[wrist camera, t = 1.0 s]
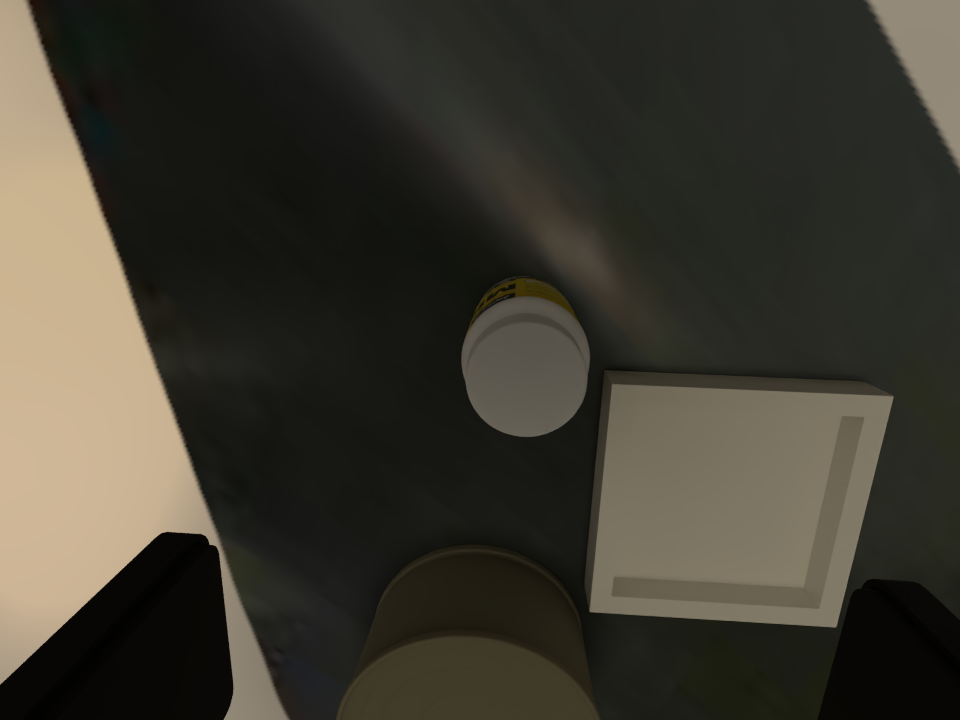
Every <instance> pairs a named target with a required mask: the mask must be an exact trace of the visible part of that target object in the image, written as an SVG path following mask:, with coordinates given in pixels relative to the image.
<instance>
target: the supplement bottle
mask: <svg viewBox="0 0 960 720" xmlns="http://www.w3.org/2000/svg"><path fill="white" fill-rule="evenodd" d="M461 363H462V371H463V375H464V379H465V382H466V388H467V393H468V396H469V399H470V401H471V404H472V406H473V407H474V409H475V411H476V412H477V413H478V414H479V416H480V417H481V418H482V419H483V420H484V421H485V422H486V423H488V424H489V425H490V426H492V427H493V428H495V429H497V430H499V431H501V432H504V433H506V434H510V435H514V436H520V437H533V436H539V435H543V434H546V433H549V432H552V431H554V430H556V429H558V428H559V427H561V426H562V425H564V424H565V423H566V422H567V421H569V420H570V419H571V418H572V417H573V416H574V414H575V413H576V412H577V410H578V409H579V407H580V405H581V404H582V402H583V399H584V396H585V393H586V388H587V374H588V371H589V364H590V350H589V346H588V341H587V338H586V335H585V333H584V331H583V328H582V327H581V325H580V323H579V321H578V319H577V317H576V315H575V313H574V311H573V310H572V308H571V306H570V304H569V302H568V300H567V299H566V298H565V296H564V295H563V294H562V293H561V292H560V291H559V290H558V289H557V288H556V287H555V286H553V285H552V284H550V283H549V282H547V281H544V280H542V279H539V278H535V277H530V276H519V277H512V278H509V279H506V280H503V281H501V282H499V283H497V284H496V285H494V286H493V287H491V288H490V289H489V290H488V291H487V292H486V293H485V294H484V296H483V297H482V298H481V300H480V301H479V303H478V305H477V307H476V310H475V312H474V315H473V318H472V320H471V323H470V326H469V329H468V332H467V334H466V337H465V340H464V344H463V348H462V357H461Z"/></svg>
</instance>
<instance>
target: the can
mask: <svg viewBox="0 0 960 720" xmlns="http://www.w3.org/2000/svg"><path fill="white" fill-rule="evenodd" d="M336 720H601V717H600V714H599V711H598V709H597V706H596V704H595V701H594V696H593V690H592V685H591V679H590V674H589V668H588V662H587V657H586V651H585V646H584V641H583V635H582V626H581V621H580V617H579V613H578V610H577V607H576V605H575V603H574V601H573V599H572V597H571V595H570V594H569V592H568V590H567V589H566V588H565V586H564V585H563V584H562V583H561V581H560V580H559V579H558V578H557V577H556V576H555V575H554V574H553V573H551V572H550V571H549V570H548V569H547V568H545V567H544V566H542V565H541V564H540V563H538V562H536V561H535V560H533V559H531V558H529V557H527V556H525V555H523V554H521V553H518V552H515V551H512V550H509V549H506V548H502V547H497V546H491V545H481V544H465V545H456V546H450V547H445V548H442V549H438V550H435V551H432V552H430V553H427V554H425V555H423V556H421V557H419V558H417V559H416V560H414V561H412V562H411V563H409V564H408V565H407V566H405V567H404V568H403V569H402V570H401V571H400V572H399V573H398V574H397V575H396V576H395V577H394V578H393V579H392V580H391V582H390V583H389V584H388V586H387V587H386V589H385V591H384V593H383V595H382V597H381V599H380V602H379V604H378V607H377V610H376V614H375V618H374V621H373V623H372V626H371V629H370V631H369V634H368V637H367V640H366V643H365V646H364V649H363V652H362V655H361V658H360V660H359V663H358V666H357V669H356V672H355V675H354V677H353V679H352V681H351V682H350V684H349V685H348V687H347V689H346V691H345V693H344V696H343V698H342V701H341V704H340V706H339V710H338V714H337V718H336Z"/></svg>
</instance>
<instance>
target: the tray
mask: <svg viewBox="0 0 960 720" xmlns="http://www.w3.org/2000/svg"><path fill="white" fill-rule="evenodd" d="M893 397H894V396H892V395H890V394H888V393H886V392H884V391H882V390H880V389H878V388H876V387H874V386H872V385H870V384H868V383H866V382H864V381H846V380H823V379H799V378H775V377H752V376H728V375H705V374H681V373H657V372H634V371H610V370H604V379H603V390H602V400H601V411H600V422H599V432H598V443H597V453H596V464H595V475H594V485H593V496H592V506H591V517H590V528H589V538H588V549H587V559H586V570H585V581H584V586H585V591H586V596H587V601H588V607H589V612H597V613H613V614H630V615H646V616H662V617H678V618H694V619H710V620H726V621H742V622H759V623H775V624H791V625H807V626H823V627H836V626H837V622H838V618H839V614H840V610H841V606H842V602H843V598H844V594H845V590H846V586H847V582H848V578H849V574H850V570H851V566H852V562H853V558H854V554H855V550H856V546H857V542H858V538H859V533H860V529H861V525H862V521H863V517H864V513H865V509H866V505H867V501H868V497H869V493H870V489H871V485H872V481H873V477H874V473H875V469H876V465H877V461H878V457H879V453H880V449H881V445H882V441H883V437H884V433H885V429H886V425H887V421H888V417H889V413H890V409H891V405H892V401H893Z"/></svg>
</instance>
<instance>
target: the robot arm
mask: <svg viewBox="0 0 960 720" xmlns="http://www.w3.org/2000/svg"><path fill="white" fill-rule="evenodd" d="M232 696H233V677H232V668H231V660H230V650H229V641H228V631H227V622H226V614H225V605H224V595H223V586H222V577H221V568H220V558H219V552H218V549H217V547H216V546H213V545H209V541H208V539H207V538H206V536H204V535H202V534H190V533H175V532H165V533H161V534H160V535H159V536H157V537H156V538H155V539H154V540H153V541H152V542H151V543H150V544H149V545H147V546H146V547H145V548H144V549H143V550H142V551H141V552H140V553H139V554H138V555H137V556H136V557H135V558H134V559H133V560H132V561H131V562H129V563H128V564H127V566H125V567H124V568H123V569H122V570H121V571H120V572H119V573H118V574H117V575H116V576H115V577H114V578H113V579H112V580H110V582H108V583H107V584H106V585H105V586H104V587H103V588H102V589H101V590H100V591H99V592H98V593H97V594H96V595H95V596H94V597H93V598H91V599H90V601H88V603H86V604H85V605H84V606H83V607H82V608H81V609H80V610H79V611H78V612H77V613H76V614H75V615H74V616H72V618H70V619H69V620H68V621H67V622H66V623H65V624H64V625H63V626H62V627H61V628H60V629H59V630H58V631H57V632H56V633H55V634H53V635H52V636H51V637H50V638H49V639H48V640H47V641H46V642H45V643H44V644H43V645H42V646H41V647H40V648H39V649H38V650H37V651H36V652H35V653H33V654H32V656H30V657H29V658H28V659H27V660H26V661H25V662H24V663H23V664H22V665H21V666H20V667H19V668H18V669H17V670H15V672H13V673H12V674H11V675H10V676H9V677H8V678H7V679H6V680H5V681H4V682H3V683H2V684H1V685H0V720H224V718H225V716H226V714H227V712H228V709H229V707H230V704H231V700H232ZM818 720H960V620H959V619H958V618H957V617H956V616H955V615H954V614H953V613H951V612H950V611H949V610H948V609H947V608H946V607H945V606H944V605H943V604H942V603H941V602H940V601H939V600H938V599H936V598H935V597H934V596H933V595H932V594H931V593H930V592H929V591H928V590H927V589H926V588H924V587H923V586H921V585H920V584H919V583H915V582H912V581H897V580H882V579H871V580H867V581H866V582H865V583H864V584H863V586H862V588H861V589H856V590H855V591H854V592H853V593H852V596H851V598H850V602H849V606H848V609H847V613H846V617H845V620H844V624H843V628H842V631H841V635H840V639H839V642H838V646H837V650H836V653H835V657H834V661H833V665H832V668H831V672H830V676H829V679H828V683H827V687H826V690H825V694H824V698H823V701H822V705H821V709H820V712H819V716H818Z"/></svg>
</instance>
